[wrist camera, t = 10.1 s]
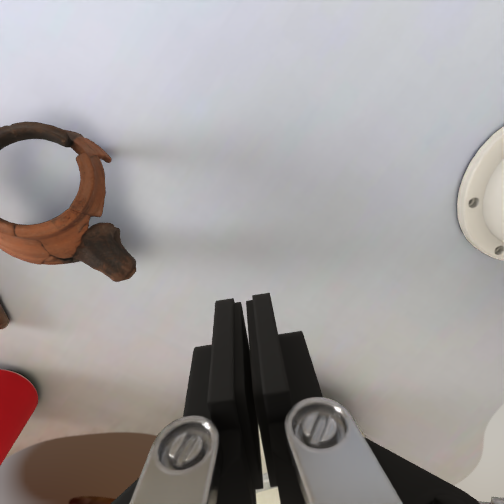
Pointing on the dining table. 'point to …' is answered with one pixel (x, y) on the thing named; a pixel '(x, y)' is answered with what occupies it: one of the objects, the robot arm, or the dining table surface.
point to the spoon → (3, 318)
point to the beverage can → (14, 407)
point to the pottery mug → (69, 213)
